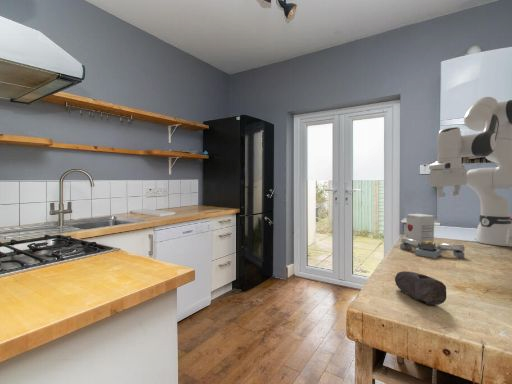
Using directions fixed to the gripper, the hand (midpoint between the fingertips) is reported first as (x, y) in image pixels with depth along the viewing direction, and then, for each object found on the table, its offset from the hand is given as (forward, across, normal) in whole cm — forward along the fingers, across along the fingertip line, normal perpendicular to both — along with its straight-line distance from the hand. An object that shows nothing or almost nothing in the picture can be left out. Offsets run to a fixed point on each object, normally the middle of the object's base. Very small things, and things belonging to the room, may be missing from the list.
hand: (448, 196), depth 122 cm
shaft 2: (+25, +6, +4) cm, 26 cm away
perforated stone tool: (+23, +57, +29) cm, 68 cm away
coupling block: (+24, +12, -1) cm, 27 cm away
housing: (+25, +12, -1) cm, 28 cm away
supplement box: (+26, -3, -17) cm, 31 cm away
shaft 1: (+25, +12, -9) cm, 29 cm away
